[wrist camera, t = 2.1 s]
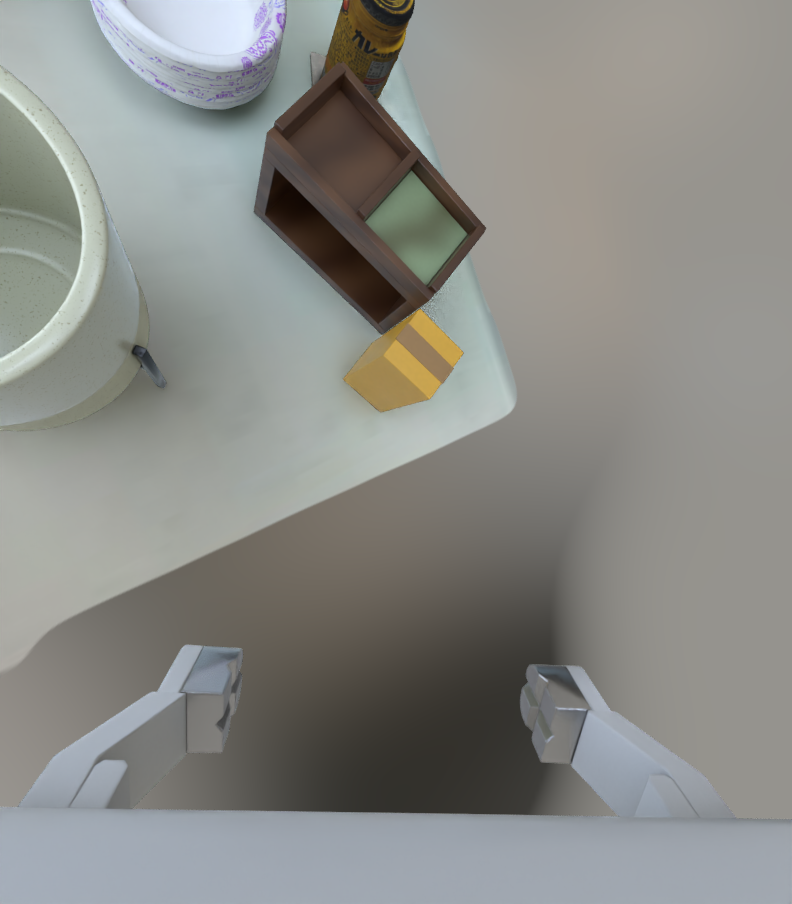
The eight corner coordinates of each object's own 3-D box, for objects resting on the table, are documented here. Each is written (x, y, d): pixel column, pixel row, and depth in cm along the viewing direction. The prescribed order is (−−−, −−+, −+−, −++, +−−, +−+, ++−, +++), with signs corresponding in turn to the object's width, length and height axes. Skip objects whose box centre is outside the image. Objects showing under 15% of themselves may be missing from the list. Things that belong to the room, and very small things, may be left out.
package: (342, 379, 47) (382, 354, 36) (372, 342, 48) (420, 307, 37) (380, 413, 48) (431, 399, 37) (408, 376, 50) (465, 352, 39)
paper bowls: (281, 146, 44) (295, 84, 37) (106, 113, 39) (81, 33, 31) (268, -7, 44) (279, -99, 37) (89, -63, 38) (60, -186, 31)
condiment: (375, 73, 49) (423, -41, 37) (379, 149, 49) (428, 59, 38) (309, 53, 46) (341, -76, 35) (314, 134, 46) (346, 31, 35)
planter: (140, 248, 40) (58, 5, 18) (178, 420, 41) (143, 380, 19) (-82, 251, 34) (-582, -100, 12) (-31, 453, 35) (-411, 446, 13)
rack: (253, 211, 43) (267, 127, 32) (313, 152, 46) (345, 55, 35) (382, 334, 48) (432, 298, 37) (429, 275, 51) (489, 225, 40)
